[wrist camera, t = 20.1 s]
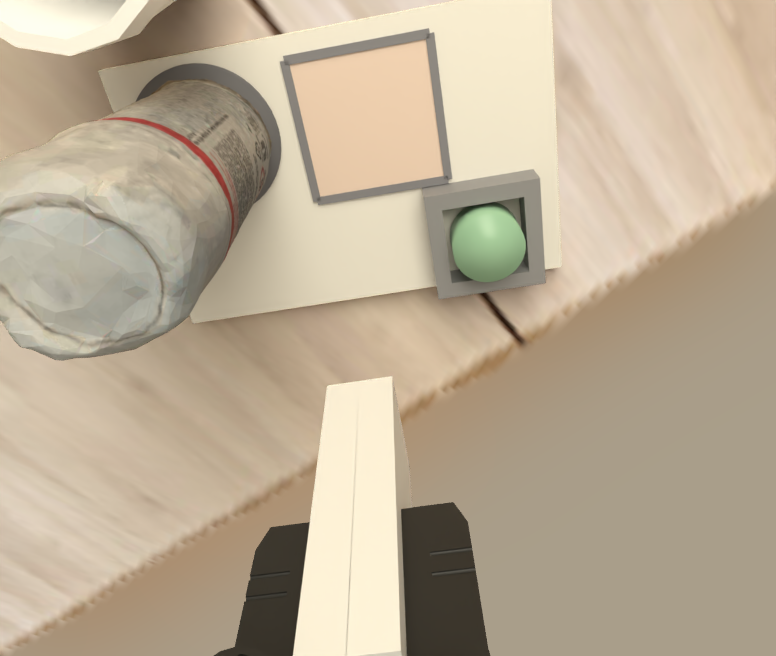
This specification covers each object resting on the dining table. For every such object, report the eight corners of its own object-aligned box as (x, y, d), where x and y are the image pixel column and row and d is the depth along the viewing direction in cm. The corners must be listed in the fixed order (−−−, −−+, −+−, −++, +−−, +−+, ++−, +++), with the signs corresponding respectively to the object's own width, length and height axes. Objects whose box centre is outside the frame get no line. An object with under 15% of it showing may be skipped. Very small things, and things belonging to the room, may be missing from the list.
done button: (454, 270, 41) (457, 287, 39) (445, 207, 39) (448, 221, 37) (520, 259, 41) (527, 276, 39) (515, 195, 39) (523, 209, 37)
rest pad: (162, 223, 41) (161, 225, 40) (109, 78, 36) (106, 79, 36) (297, 200, 40) (296, 202, 39) (258, 49, 35) (257, 50, 35)
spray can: (191, 37, 35) (-10, 100, 17) (306, 139, 37) (232, 282, 20) (113, 150, 38) (-124, 299, 20) (224, 236, 41) (99, 432, 23)
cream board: (197, 315, 45) (184, 337, 43) (105, 68, 37) (82, 75, 34) (557, 259, 43) (569, 279, 40) (545, -18, 35) (559, -17, 32)
